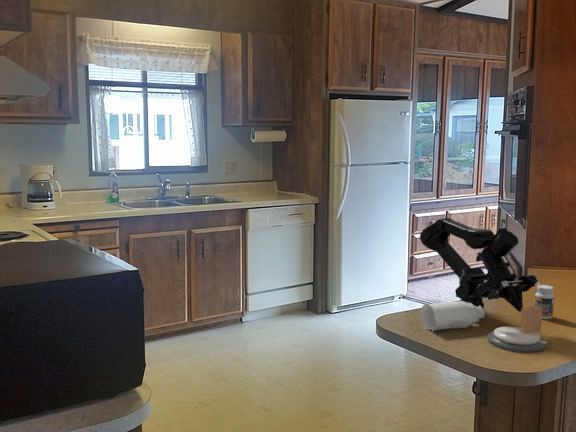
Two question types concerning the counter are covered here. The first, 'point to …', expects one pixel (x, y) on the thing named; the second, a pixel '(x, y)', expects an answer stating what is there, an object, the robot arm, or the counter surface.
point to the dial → (523, 328)
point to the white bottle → (450, 315)
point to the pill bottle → (545, 300)
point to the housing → (515, 347)
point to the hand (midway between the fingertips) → (520, 310)
